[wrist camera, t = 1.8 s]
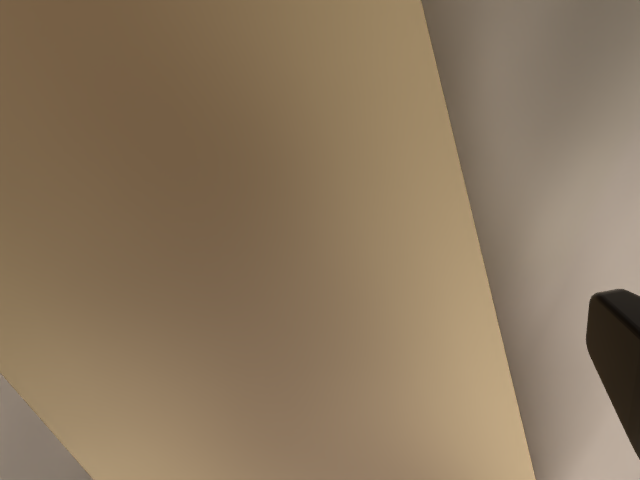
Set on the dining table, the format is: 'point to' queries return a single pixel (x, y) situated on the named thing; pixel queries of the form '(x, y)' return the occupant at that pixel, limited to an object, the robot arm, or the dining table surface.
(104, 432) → the shelf board
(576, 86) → the dining table surface
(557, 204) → the dining table surface
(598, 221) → the dining table surface
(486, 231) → the dining table surface
